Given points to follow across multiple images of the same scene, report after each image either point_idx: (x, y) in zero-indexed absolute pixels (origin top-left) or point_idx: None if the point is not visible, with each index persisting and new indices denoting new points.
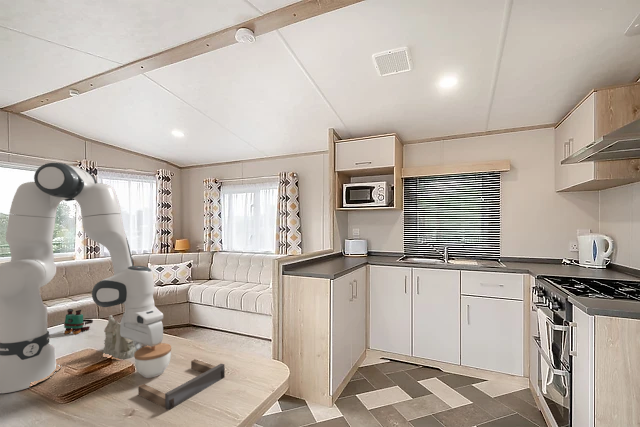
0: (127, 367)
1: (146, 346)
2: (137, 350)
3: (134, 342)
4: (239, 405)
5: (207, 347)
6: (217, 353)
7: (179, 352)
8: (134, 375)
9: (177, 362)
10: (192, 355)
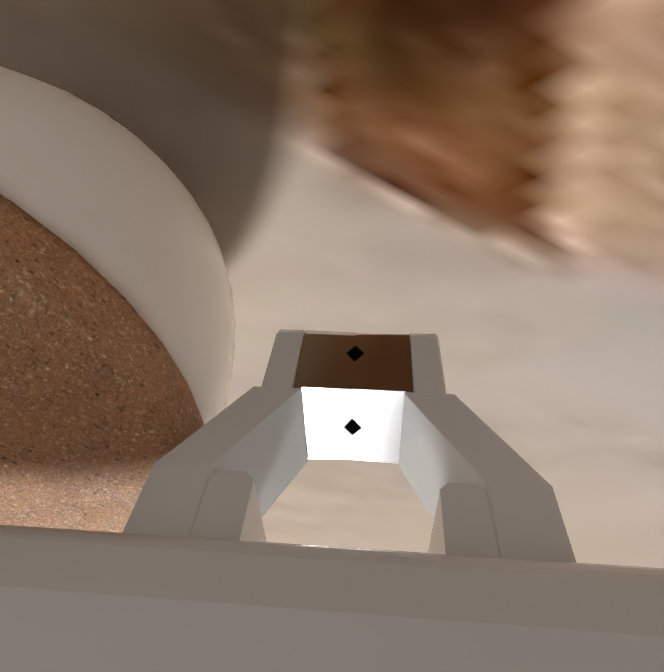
0: (543, 161)
1: (121, 484)
2: (14, 311)
3: (497, 509)
4: None
5: None
6: None
7: (331, 520)
8: (207, 78)
9: None
10: None
